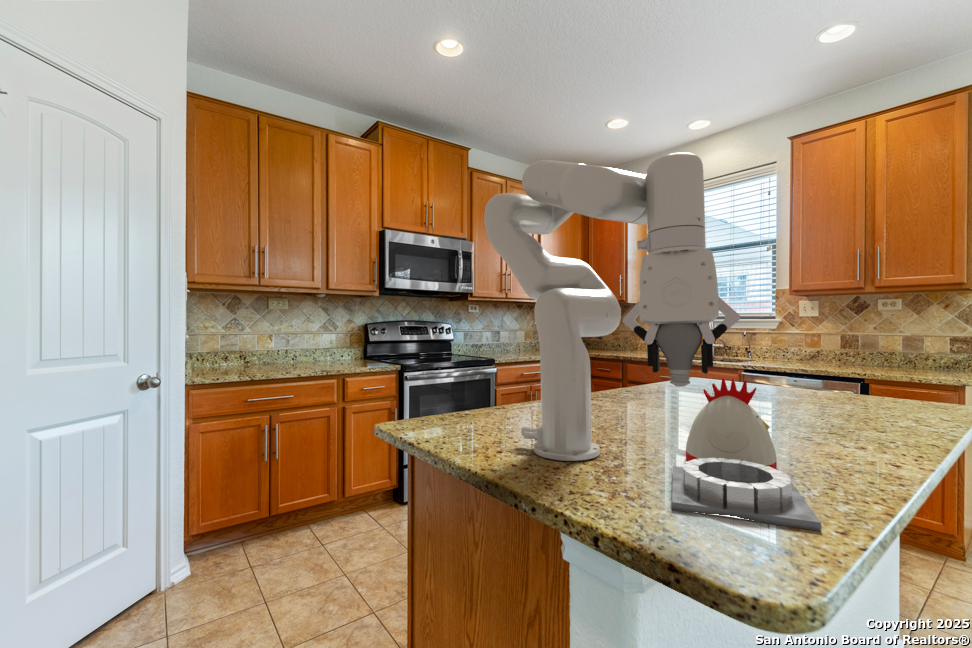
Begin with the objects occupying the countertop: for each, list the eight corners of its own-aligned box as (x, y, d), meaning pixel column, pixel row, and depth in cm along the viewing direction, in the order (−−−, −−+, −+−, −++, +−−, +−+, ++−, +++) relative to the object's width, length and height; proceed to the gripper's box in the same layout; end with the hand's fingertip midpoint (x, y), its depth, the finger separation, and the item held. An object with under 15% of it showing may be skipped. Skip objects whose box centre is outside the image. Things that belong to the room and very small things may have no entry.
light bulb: (710, 385, 61) (708, 314, 62) (692, 390, 57) (690, 314, 58) (669, 382, 66) (667, 316, 66) (649, 386, 62) (647, 316, 62)
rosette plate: (672, 509, 57) (671, 483, 57) (673, 472, 72) (672, 451, 72) (821, 531, 51) (820, 501, 51) (789, 485, 66) (788, 461, 66)
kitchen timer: (776, 482, 67) (774, 384, 67) (679, 467, 75) (678, 379, 75) (776, 459, 79) (775, 376, 79) (693, 448, 86) (691, 372, 86)
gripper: (609, 246, 63) (612, 373, 62) (748, 232, 55) (753, 376, 55) (618, 255, 69) (621, 369, 69) (743, 243, 62) (748, 371, 61)
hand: (679, 370), depth 62 cm, fingers closed on light bulb, 5 cm apart
